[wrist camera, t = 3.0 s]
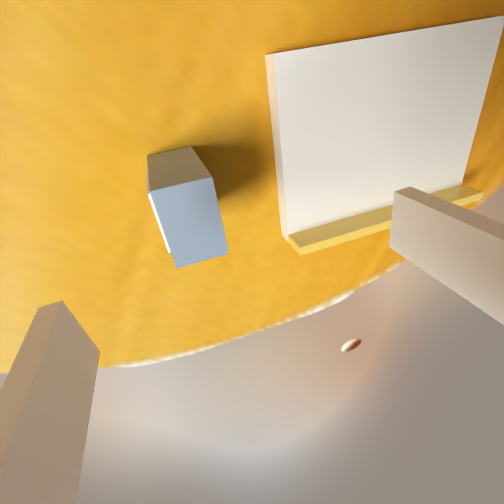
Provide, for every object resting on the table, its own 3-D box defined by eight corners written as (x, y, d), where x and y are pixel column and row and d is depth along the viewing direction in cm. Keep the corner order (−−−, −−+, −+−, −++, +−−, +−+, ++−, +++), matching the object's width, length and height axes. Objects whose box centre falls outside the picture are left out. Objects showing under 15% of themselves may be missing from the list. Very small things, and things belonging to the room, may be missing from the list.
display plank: (281, 234, 35) (300, 255, 31) (264, 54, 25) (288, 51, 21) (446, 186, 40) (481, 199, 36) (486, 18, 30) (541, 9, 26)
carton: (143, 156, 26) (144, 192, 18) (190, 146, 27) (212, 176, 19) (163, 216, 30) (172, 269, 21) (205, 205, 30) (228, 253, 22)
